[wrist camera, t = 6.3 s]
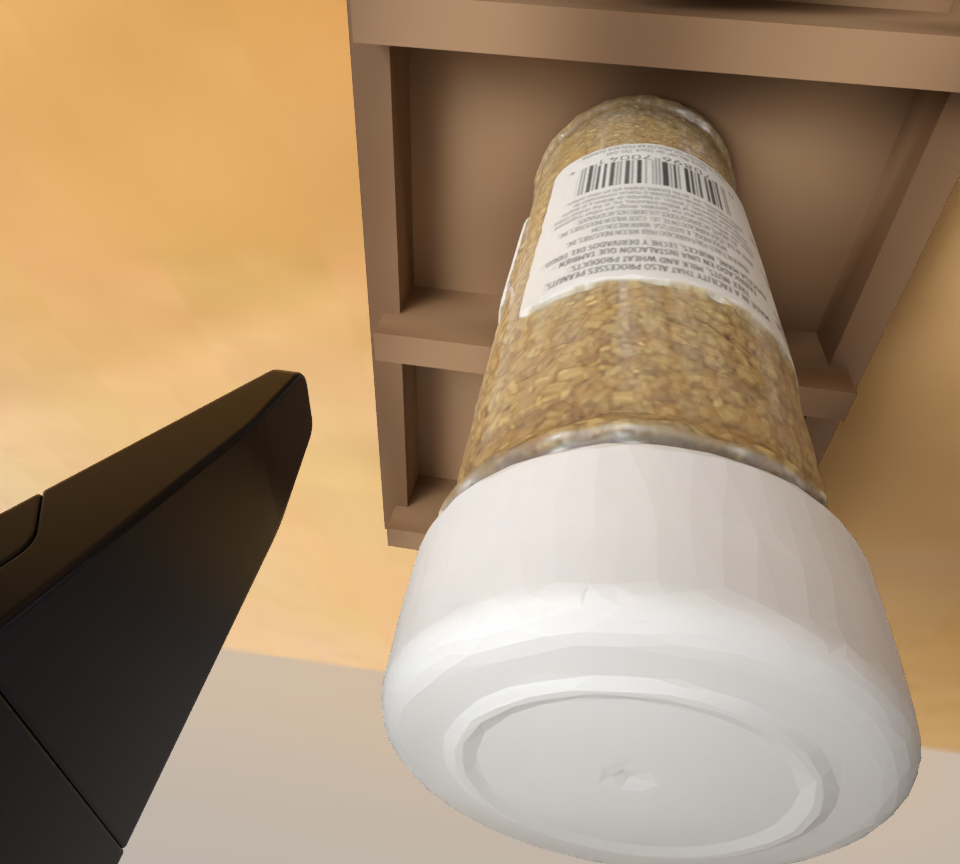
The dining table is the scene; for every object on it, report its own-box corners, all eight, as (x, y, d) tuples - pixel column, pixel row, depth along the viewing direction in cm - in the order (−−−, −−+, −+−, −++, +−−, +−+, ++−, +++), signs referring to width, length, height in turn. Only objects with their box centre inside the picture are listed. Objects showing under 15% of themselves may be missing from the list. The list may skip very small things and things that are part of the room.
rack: (1292, -688, 8) (1535, -887, 6) (750, 538, 23) (764, 613, 21) (344, -665, 10) (256, -825, 7) (400, 486, 24) (376, 551, 22)
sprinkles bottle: (506, 238, 17) (318, 793, 7) (589, 49, 14) (471, 532, 4) (669, 310, 18) (713, 927, 8) (783, 142, 15) (1106, 780, 5)
